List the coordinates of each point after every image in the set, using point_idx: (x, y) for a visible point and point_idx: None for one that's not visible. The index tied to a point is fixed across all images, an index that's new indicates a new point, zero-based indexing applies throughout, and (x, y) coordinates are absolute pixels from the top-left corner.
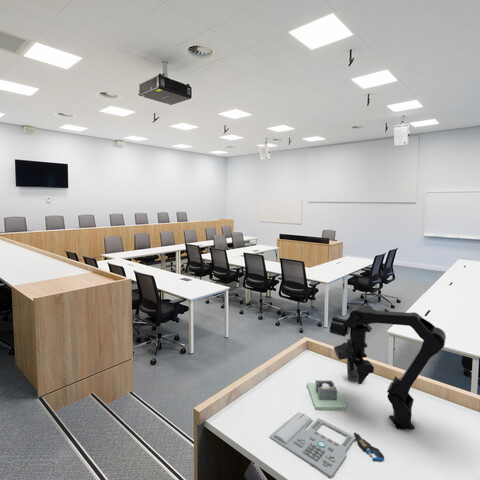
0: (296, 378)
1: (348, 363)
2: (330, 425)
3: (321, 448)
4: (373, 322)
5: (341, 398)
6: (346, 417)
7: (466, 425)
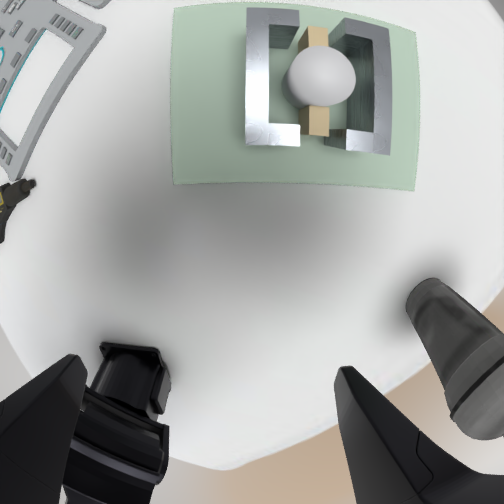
0: (453, 23)
1: (401, 417)
2: (56, 82)
3: None
4: None
5: (261, 179)
6: (121, 167)
7: (172, 452)
